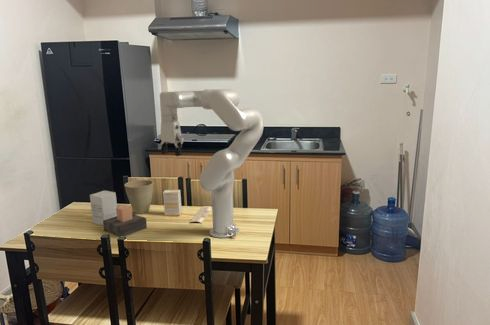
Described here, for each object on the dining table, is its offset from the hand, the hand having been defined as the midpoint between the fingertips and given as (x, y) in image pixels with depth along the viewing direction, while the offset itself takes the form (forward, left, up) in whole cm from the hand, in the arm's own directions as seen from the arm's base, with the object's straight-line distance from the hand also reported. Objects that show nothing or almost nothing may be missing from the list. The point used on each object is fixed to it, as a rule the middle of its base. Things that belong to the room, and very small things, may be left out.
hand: (171, 154), depth 178 cm
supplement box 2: (+10, -7, -34) cm, 37 cm away
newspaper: (-3, -15, -35) cm, 39 cm away
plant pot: (+28, 0, -34) cm, 44 cm away
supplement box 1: (+30, +20, -35) cm, 50 cm away
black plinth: (+13, +20, -34) cm, 42 cm away
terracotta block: (+13, +20, -29) cm, 38 cm away
